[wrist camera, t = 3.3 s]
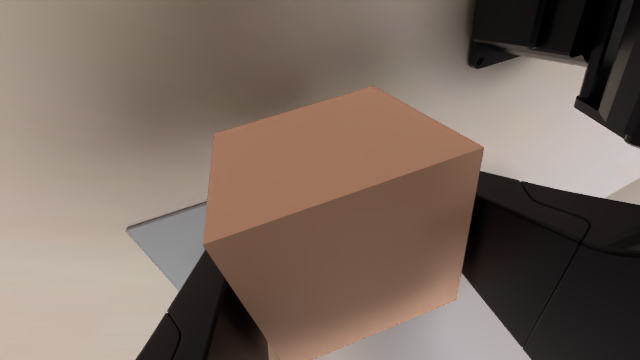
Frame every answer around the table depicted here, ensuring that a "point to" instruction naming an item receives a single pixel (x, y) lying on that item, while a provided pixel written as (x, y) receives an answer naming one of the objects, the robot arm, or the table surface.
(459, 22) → the table surface
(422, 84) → the table surface
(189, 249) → the felt mat
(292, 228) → the terracotta block
